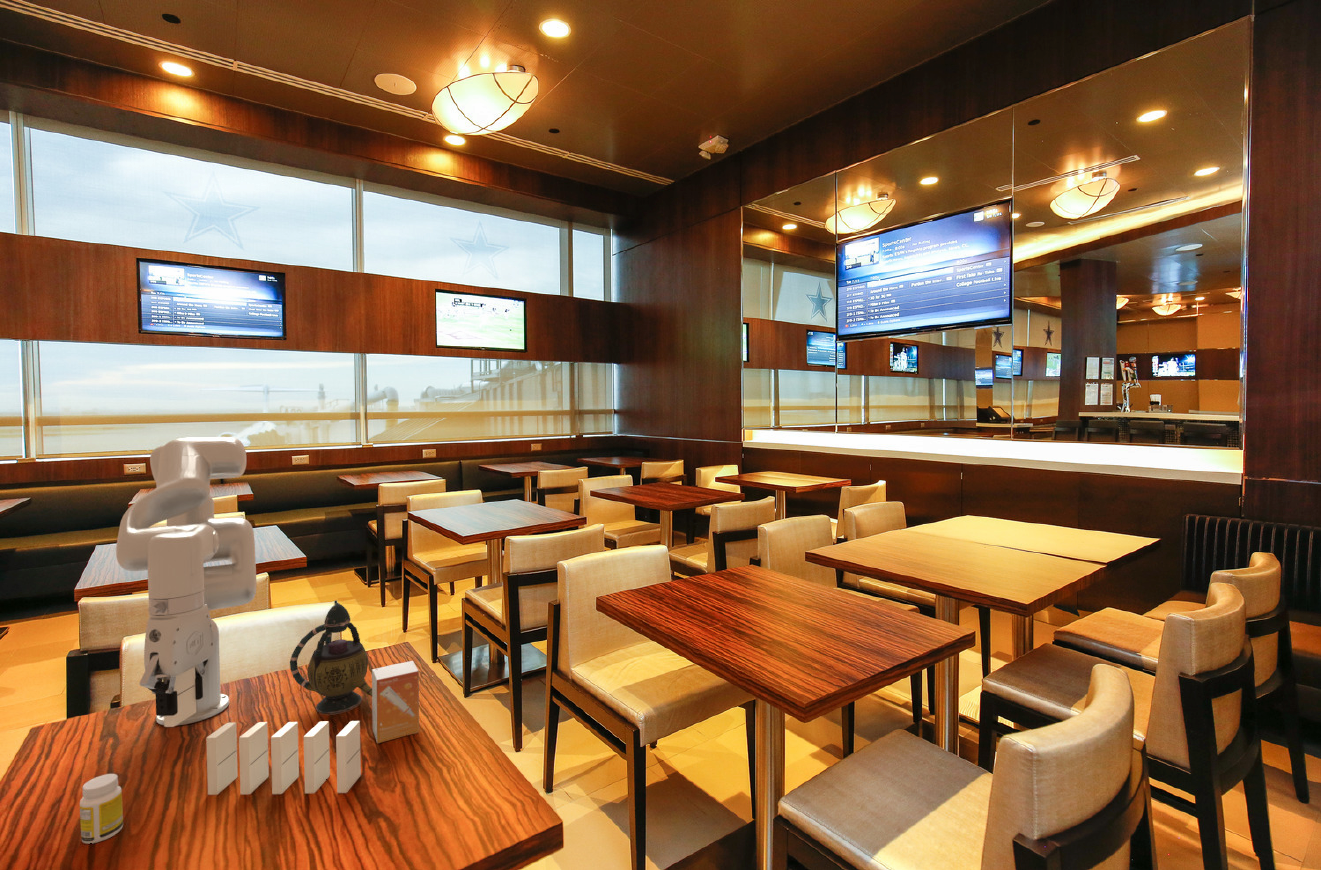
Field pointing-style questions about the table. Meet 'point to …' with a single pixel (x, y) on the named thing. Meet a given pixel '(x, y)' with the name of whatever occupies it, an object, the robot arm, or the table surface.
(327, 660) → the teapot
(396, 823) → the table surface
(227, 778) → the domino
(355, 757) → the domino
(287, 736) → the domino
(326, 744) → the domino
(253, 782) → the domino
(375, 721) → the small box
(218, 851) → the table surface
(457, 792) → the table surface
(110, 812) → the supplement bottle
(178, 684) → the domino
